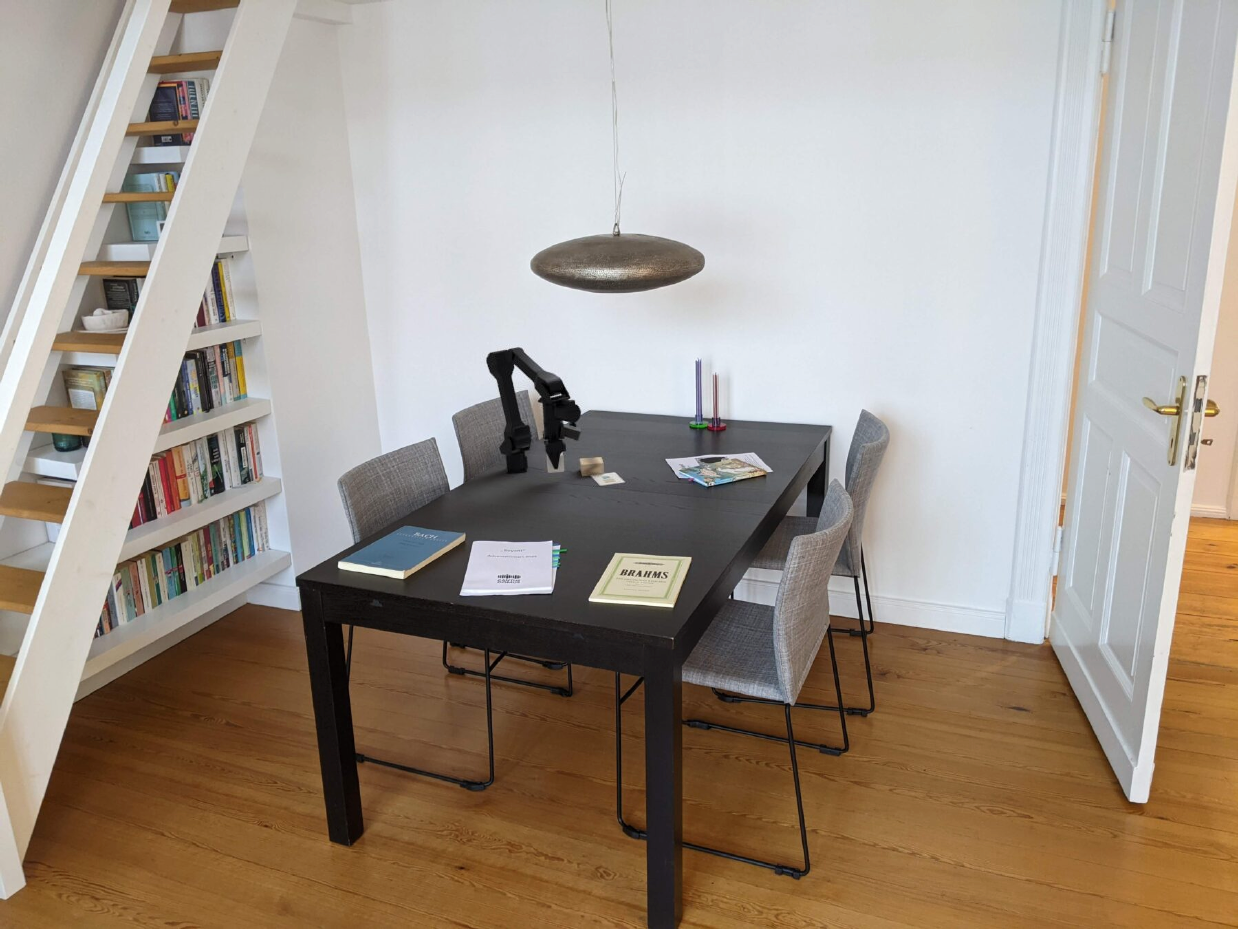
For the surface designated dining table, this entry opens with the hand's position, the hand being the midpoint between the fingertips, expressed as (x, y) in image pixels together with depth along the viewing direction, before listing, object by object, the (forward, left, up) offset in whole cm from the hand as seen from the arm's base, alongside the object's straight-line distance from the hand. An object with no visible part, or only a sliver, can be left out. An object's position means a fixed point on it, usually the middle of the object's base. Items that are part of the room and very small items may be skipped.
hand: (555, 466), depth 295 cm
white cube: (0, 0, -1) cm, 1 cm away
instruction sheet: (+16, -2, -5) cm, 17 cm away
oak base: (+12, +7, -5) cm, 15 cm away
